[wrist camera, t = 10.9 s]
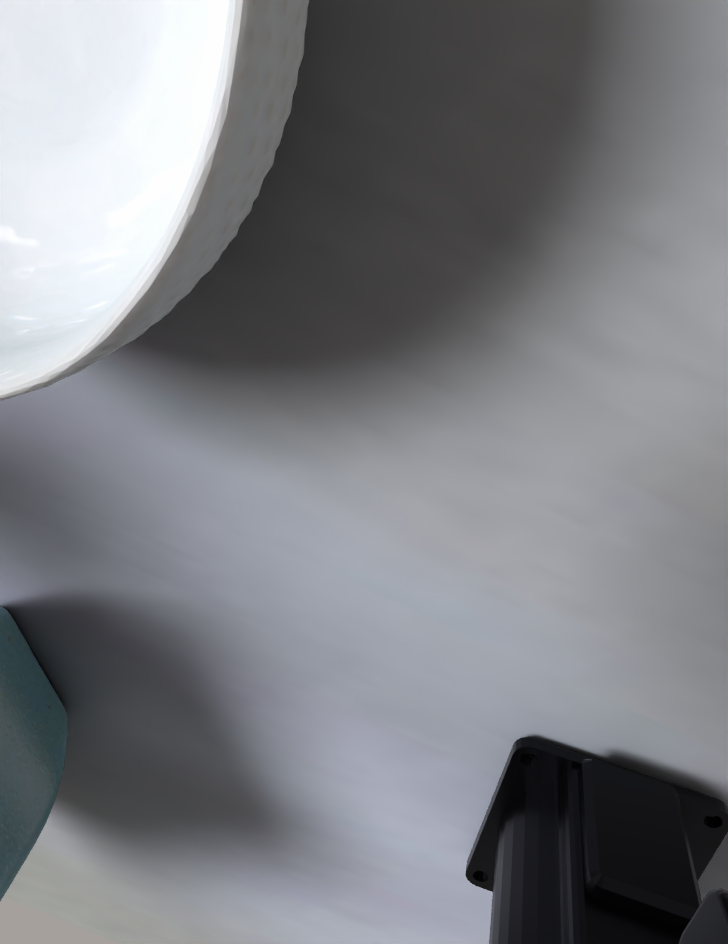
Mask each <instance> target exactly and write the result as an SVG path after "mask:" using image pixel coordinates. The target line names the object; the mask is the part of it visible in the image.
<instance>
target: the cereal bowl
mask: <svg viewBox="0 0 728 944" xmlns="http://www.w3.org/2000/svg"><path fill="white" fill-rule="evenodd" d="M309 1H310V0H0V400H5V399H8V398H11V397H14V396H17V395H21V394H24V393H28V392H31V391H34V390H38V389H41V388H45V387H48V386H49V385H51V384H53V383H55V382H57V381H59V380H61V379H63V378H65V377H68V376H70V375H72V374H75V373H77V372H79V371H81V370H83V369H84V368H86V367H87V366H89V365H91V364H92V363H94V362H96V361H98V360H101V359H103V358H105V357H107V356H108V355H110V354H112V353H114V352H115V351H116V350H117V349H119V348H120V347H122V346H124V345H126V344H127V343H129V342H131V341H133V340H135V339H136V338H137V337H139V336H141V335H142V334H143V333H144V332H145V331H146V330H147V329H148V328H149V327H150V326H152V325H153V324H155V323H157V322H158V321H160V320H161V319H162V318H163V317H164V316H165V315H167V314H168V313H170V311H171V310H172V309H173V308H174V306H175V305H176V304H177V303H178V302H179V301H180V300H181V299H182V298H184V297H185V296H186V295H188V294H189V293H190V292H191V291H192V289H193V288H194V286H195V285H196V284H197V283H198V281H199V280H200V278H201V277H203V276H204V275H205V274H206V273H207V272H209V271H210V270H211V269H212V267H213V265H214V264H215V263H216V262H217V261H218V260H219V258H220V256H221V254H222V252H223V251H224V250H225V249H226V248H227V246H228V244H229V243H230V242H231V241H232V240H233V239H234V237H235V236H236V235H237V233H238V230H239V227H240V224H241V223H242V222H243V220H244V219H245V218H246V216H247V215H248V214H249V213H250V212H251V209H252V205H253V202H254V200H255V199H256V198H257V197H258V195H259V192H260V188H261V186H262V182H263V179H264V178H265V176H266V175H267V173H268V172H269V170H270V169H271V167H272V165H273V162H274V157H275V151H276V149H277V148H278V146H279V145H280V141H281V138H282V134H283V130H284V125H285V123H286V121H287V119H288V117H289V115H290V113H291V107H292V99H293V94H294V91H295V88H296V86H297V78H298V70H299V67H300V64H301V61H302V58H303V55H304V38H305V29H306V23H307V8H308V4H309Z"/></svg>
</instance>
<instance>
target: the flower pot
mask: <svg viewBox="0 0 728 944" xmlns="http://www.w3.org/2000/svg"><path fill="white" fill-rule="evenodd" d="M67 730H68V716H67V712H66V710H65V708H64V706H63V704H62V703H61V701H60V699H59V698H58V696H57V694H56V692H55V691H54V689H53V687H52V686H51V684H50V682H49V681H48V679H47V677H46V675H45V674H44V672H43V670H42V669H41V667H40V665H39V664H38V662H37V660H36V658H35V657H34V655H33V653H32V651H31V649H30V647H29V646H28V644H27V642H26V640H25V639H24V637H23V635H22V633H21V632H20V630H19V628H18V626H17V625H16V623H15V621H14V620H13V618H12V616H11V615H10V613H9V612H8V611H7V610H6V609H4V608H2V607H0V901H1V899H2V898H3V896H4V894H5V893H6V891H7V890H8V888H9V886H10V885H11V883H12V881H13V880H14V878H15V876H16V875H17V873H18V871H19V869H20V868H21V866H22V865H23V863H24V861H25V860H26V858H27V856H28V855H29V853H30V851H31V850H32V848H33V846H34V844H35V843H36V841H37V839H38V837H39V835H40V833H41V831H42V829H43V827H44V825H45V823H46V821H47V819H48V816H49V814H50V812H51V809H52V807H53V804H54V801H55V798H56V795H57V791H58V788H59V784H60V781H61V777H62V772H63V767H64V761H65V754H66V745H67Z"/></svg>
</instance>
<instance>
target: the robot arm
mask: <svg viewBox="0 0 728 944" xmlns="http://www.w3.org/2000/svg"><path fill="white" fill-rule="evenodd" d="M525 753H532V754H533V755H535V756H532V757H530V756H526V755H524V754H525ZM709 815H717V816H714V817H707V816H709ZM727 832H728V808H727V806H726V805H725V804H724V803H723V802H722V801H720V800H718V799H716V798H713V797H710V796H707V795H704V794H701V793H698V792H695V791H691V790H688V789H685V788H682V787H679V786H676V785H673V784H670V783H667V782H664V781H661V780H658V779H655V778H652V777H649V776H646V775H643V774H640V773H637V772H634V771H631V770H628V769H625V768H622V767H619V766H616V765H613V764H610V763H607V762H604V761H601V760H598V759H595V758H592V757H589V756H586V755H583V754H580V753H577V752H574V751H571V750H568V749H565V748H562V747H559V746H556V745H553V744H550V743H547V742H544V741H541V740H538V739H535V738H530V737H525V738H520V739H518V740H517V741H516V742H515V743H514V745H513V747H512V749H511V752H510V754H509V757H508V760H507V762H506V765H505V767H504V770H503V772H502V775H501V777H500V780H499V782H498V785H497V787H496V790H495V792H494V795H493V797H492V800H491V802H490V805H489V807H488V810H487V812H486V815H485V817H484V820H483V822H482V825H481V827H480V830H479V833H478V835H477V838H476V840H475V843H474V845H473V848H472V850H471V853H470V855H469V858H468V860H467V867H466V877H467V879H468V880H469V881H470V882H471V883H472V884H474V885H476V886H478V887H481V888H484V889H486V890H489V891H492V892H493V899H492V912H491V926H490V940H489V944H728V891H726V890H724V889H719V888H716V889H713V890H711V891H710V892H709V893H708V894H707V895H706V897H705V898H704V900H703V902H702V900H701V896H700V891H699V887H698V882H697V881H698V879H699V877H700V876H701V874H702V873H703V871H704V869H705V868H706V866H707V865H708V863H709V861H710V860H711V858H712V856H713V855H714V853H715V852H716V850H717V848H718V847H719V845H720V844H721V842H722V840H723V839H724V837H725V835H726V834H727Z"/></svg>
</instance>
